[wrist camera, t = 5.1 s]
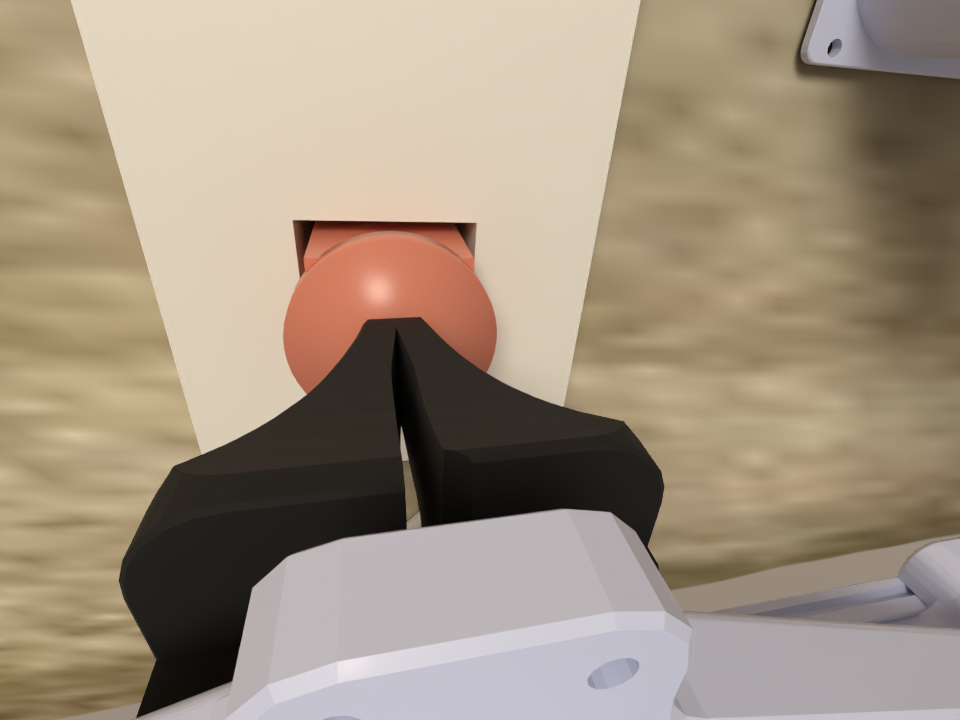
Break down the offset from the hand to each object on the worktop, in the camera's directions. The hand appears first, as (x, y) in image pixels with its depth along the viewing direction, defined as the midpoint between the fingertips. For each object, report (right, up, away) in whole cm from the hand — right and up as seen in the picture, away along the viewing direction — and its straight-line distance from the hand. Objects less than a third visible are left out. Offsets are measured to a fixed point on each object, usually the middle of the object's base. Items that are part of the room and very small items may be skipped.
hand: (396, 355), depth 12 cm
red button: (-1, +3, +4) cm, 5 cm away
